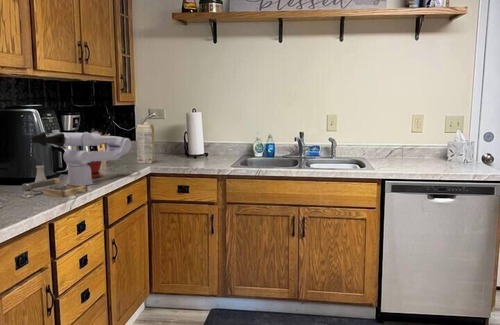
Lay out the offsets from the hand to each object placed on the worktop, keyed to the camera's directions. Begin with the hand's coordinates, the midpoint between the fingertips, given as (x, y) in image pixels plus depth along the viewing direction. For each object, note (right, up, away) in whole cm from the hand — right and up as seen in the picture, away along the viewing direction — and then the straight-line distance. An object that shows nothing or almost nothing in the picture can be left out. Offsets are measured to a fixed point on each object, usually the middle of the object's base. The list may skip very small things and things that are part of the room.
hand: (38, 139), depth 183 cm
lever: (0, -19, +3) cm, 19 cm away
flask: (-4, -21, +10) cm, 23 cm away
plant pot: (+5, -16, +41) cm, 45 cm away
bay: (+9, -21, +5) cm, 23 cm away
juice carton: (+22, -10, +91) cm, 94 cm away
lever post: (-3, -22, -3) cm, 23 cm away
